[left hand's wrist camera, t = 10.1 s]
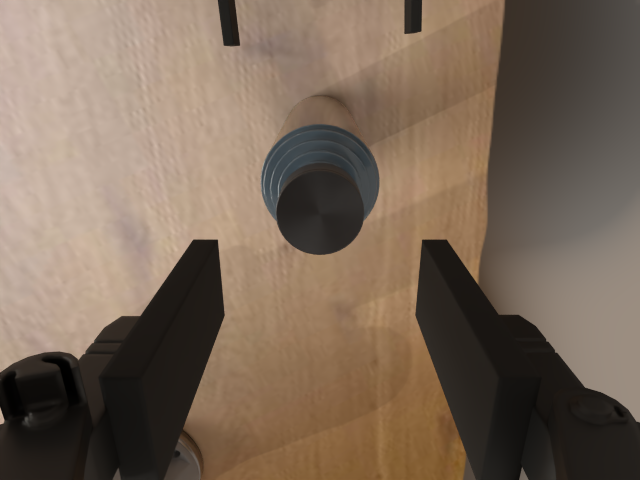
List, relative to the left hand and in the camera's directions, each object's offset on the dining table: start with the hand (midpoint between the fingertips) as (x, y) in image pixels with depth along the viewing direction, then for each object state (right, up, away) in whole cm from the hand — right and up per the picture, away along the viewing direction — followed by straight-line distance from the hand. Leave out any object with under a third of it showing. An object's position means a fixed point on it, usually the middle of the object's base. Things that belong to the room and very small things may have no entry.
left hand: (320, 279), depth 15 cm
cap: (0, +3, +6) cm, 7 cm away
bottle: (0, +11, +28) cm, 31 cm away
